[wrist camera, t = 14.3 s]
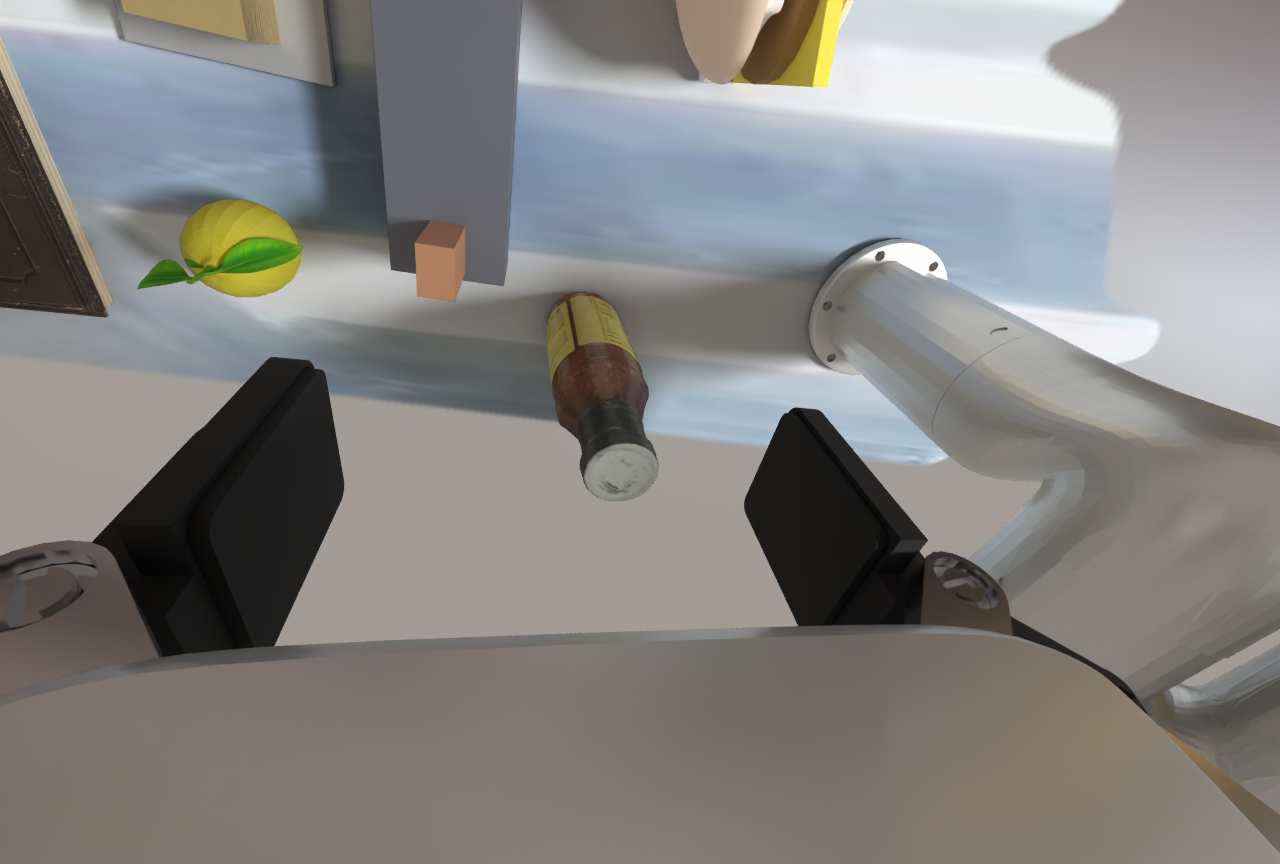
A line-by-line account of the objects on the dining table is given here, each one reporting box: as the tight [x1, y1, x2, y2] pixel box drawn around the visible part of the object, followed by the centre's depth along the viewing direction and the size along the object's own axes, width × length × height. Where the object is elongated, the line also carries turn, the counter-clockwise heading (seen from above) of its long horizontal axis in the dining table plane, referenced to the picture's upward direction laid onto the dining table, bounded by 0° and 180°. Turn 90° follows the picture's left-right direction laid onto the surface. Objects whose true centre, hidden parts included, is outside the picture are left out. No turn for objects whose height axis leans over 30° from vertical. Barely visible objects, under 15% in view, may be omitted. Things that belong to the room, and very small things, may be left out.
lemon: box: [138, 199, 303, 297], centre depth 29 cm, size 7×6×10 cm
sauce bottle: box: [546, 292, 658, 501], centre depth 33 cm, size 7×6×20 cm
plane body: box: [370, 0, 522, 301], centre depth 27 cm, size 7×20×10 cm, turn 168°
